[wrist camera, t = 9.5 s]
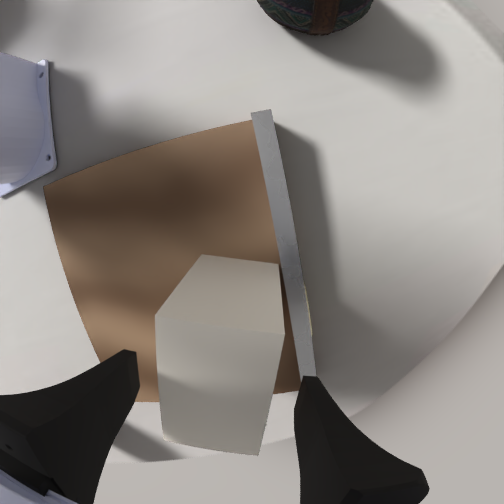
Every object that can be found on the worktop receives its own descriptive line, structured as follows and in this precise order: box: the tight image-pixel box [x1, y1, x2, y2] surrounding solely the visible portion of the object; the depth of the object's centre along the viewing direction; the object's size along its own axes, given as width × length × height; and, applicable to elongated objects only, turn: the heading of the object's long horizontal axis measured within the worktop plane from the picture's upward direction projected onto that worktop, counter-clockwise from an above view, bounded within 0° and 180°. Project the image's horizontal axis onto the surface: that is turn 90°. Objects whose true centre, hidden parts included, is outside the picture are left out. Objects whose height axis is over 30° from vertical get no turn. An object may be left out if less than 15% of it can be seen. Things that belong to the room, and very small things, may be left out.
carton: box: [155, 254, 285, 456], centre depth 15 cm, size 5×7×8 cm, turn 173°
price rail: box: [251, 109, 316, 382], centre depth 17 cm, size 18×1×2 cm, turn 12°
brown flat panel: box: [43, 120, 301, 402], centre depth 19 cm, size 18×16×1 cm
